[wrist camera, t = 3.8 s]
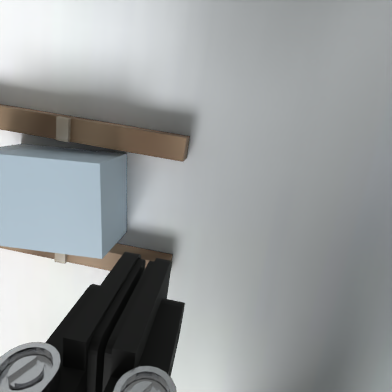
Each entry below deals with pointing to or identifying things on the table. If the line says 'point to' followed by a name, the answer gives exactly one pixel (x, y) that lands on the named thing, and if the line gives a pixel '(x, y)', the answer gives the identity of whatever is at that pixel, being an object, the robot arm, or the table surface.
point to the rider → (62, 199)
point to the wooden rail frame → (101, 137)
